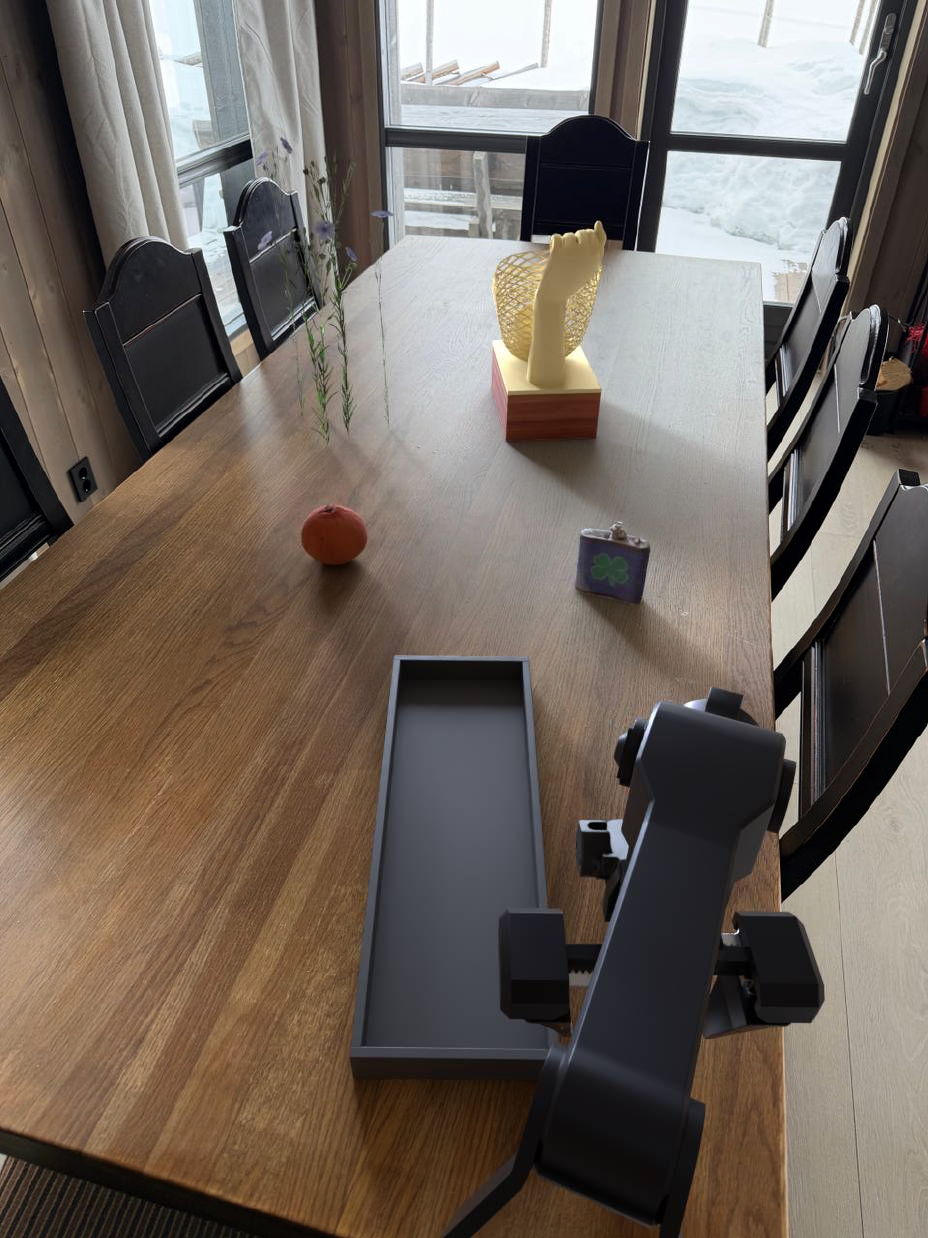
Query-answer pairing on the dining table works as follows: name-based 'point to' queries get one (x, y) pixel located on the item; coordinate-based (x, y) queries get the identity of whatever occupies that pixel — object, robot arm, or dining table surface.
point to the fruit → (333, 534)
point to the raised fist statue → (548, 342)
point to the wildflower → (324, 230)
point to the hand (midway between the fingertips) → (635, 1030)
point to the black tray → (450, 874)
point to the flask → (612, 564)
